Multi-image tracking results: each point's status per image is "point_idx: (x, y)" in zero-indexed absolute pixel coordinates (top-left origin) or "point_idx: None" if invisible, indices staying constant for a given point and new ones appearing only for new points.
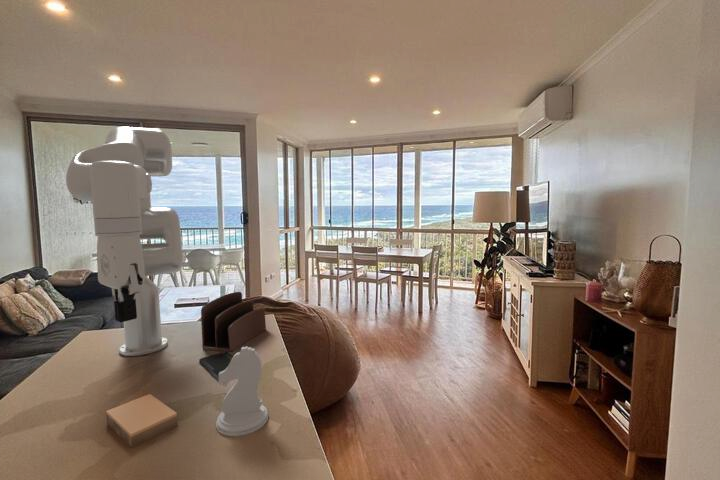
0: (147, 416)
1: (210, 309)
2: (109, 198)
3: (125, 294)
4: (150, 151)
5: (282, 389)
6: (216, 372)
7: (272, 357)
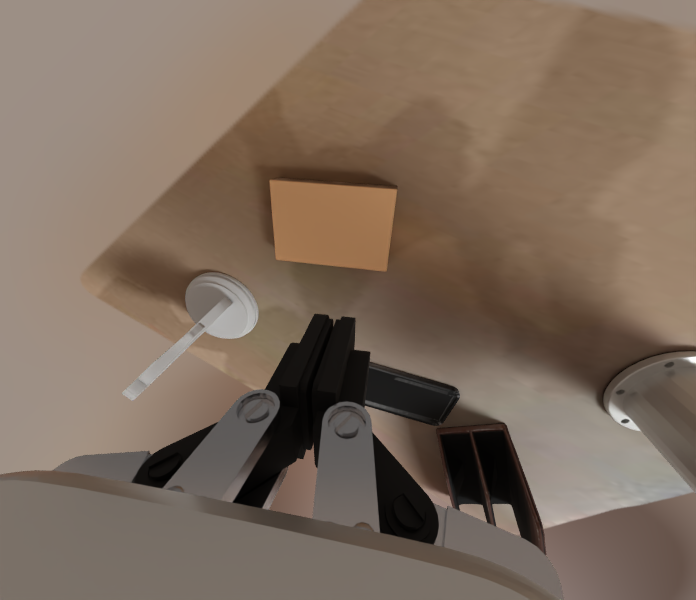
0: (305, 226)
1: (532, 526)
2: None
3: (171, 450)
4: None
5: (255, 377)
6: (381, 374)
7: None
